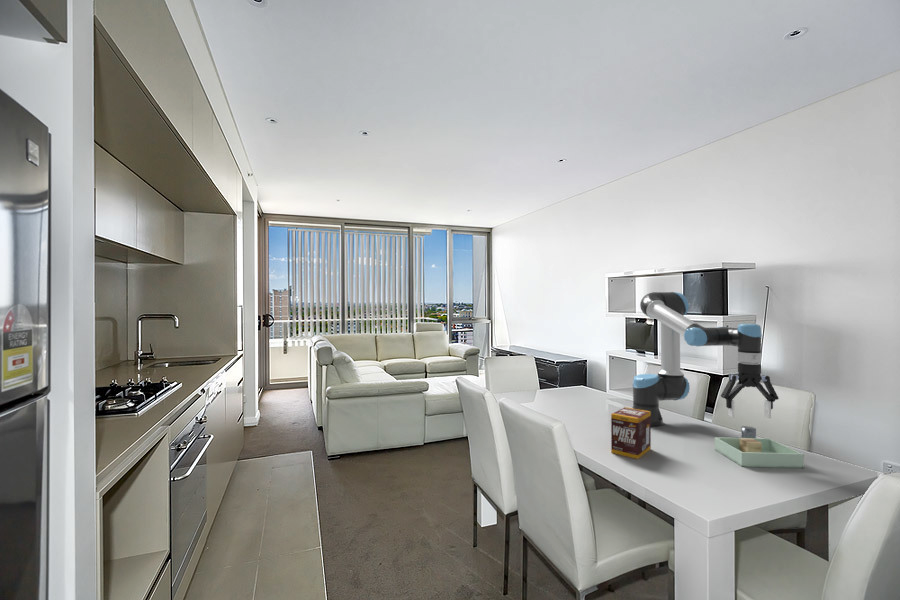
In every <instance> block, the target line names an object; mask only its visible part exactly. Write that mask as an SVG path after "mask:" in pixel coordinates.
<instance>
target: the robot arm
mask: <svg viewBox="0 0 900 600" xmlns="http://www.w3.org/2000/svg"><path fill="white" fill-rule="evenodd" d="M640 300H641V301H640V304H639V308H640V311H642V313H643V314H644V315H645V316H646V317H648V318H650V319H653V320H654V319H656V320H657V321H658V322H660V370H658V371H657V374H655V373H642V374H641V373H640V374H637V375H635V376H634V377H633V381H632V407H631V408H634V409H639V410H645V411H650V412H651V427H659V426H662V425H664V419H663V415H662V413H661V411H660V406H659V405H660V404H659V403H660V401H662V402H663V401H678V400H679V401H680V400H683V399H685V398H686V397H687V396H688V395H689V393H690V382H689V380H688V379H687V377H685V376H684V375H685V373H683V372H682V371H681V336H683V338H684V341H685V342H686V344H687V345H689V346H692V347H710V346H711V347H712V346H713V347H715V346H716V347H717V346H718V347H719V346H727V347H728V346H730V347H737V362H738V363H737V375H734V374H729V379H728V381H727V383H726V385H725V387H724V389H723V390H722V393H721V394H720V397H721V398H722V399H725V401H726V403H725V404H726V406H725V407H726V408H727V409H728V411H727V415H728V416H729V417H730V418H735V400H734V399H735V397H736V396H737V395H738V394H739V393H741V392H740V391H742V390H743V389H744V388H745V387H746V388H750V387H751V388H756V389H757V390H758V391H759V392H760V394H762V396H763V397H764V398H765V399H764V401H763V403H764V405H763V414H764V415H763V416H764V417H765V418H767V419H772V410H773V409H774V402H775V401H776V400H779V396H778V394H777V392H776V391H775V388H774V387H773V385H772V383H771V379H770V378H771V377H770V376H769V375H765V374H763V375H762V364H761V363H762V336H763V335H762V327H761V325H759V324H756V323H738V325H737V327H736V328H735V327H730V326H729V327H728V326H717V327H704V326H703V325H700V324H698V323H697V322H695V321H693V320H692V319H690V318H689V317H687V316H685V315H687V314H688V312H689V309H690V304H689V301H688V297H686V296H685V295H684V294H683V293H681V292H673V291H671V292H670V291H669V292H666V291H665V292H664V291H663V292H662V291H661V292H657V291H656V292H654V291H653V292H649V293H647V294H645V295H644V296H643V297H642V299H640ZM737 381H738V382H737ZM761 381H762V382H763V384H764V386H765V387H764V386H763V384H761ZM736 382H737V383H736ZM765 388H766V389H765Z"/></svg>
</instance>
